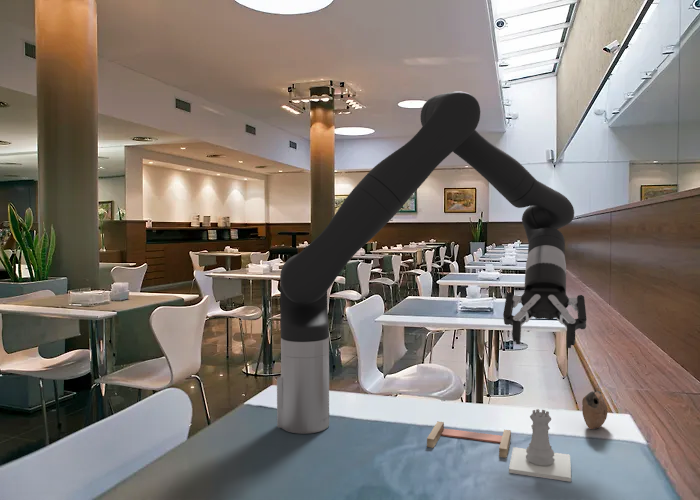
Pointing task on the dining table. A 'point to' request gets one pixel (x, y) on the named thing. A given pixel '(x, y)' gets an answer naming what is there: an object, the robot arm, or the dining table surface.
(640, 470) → the dining table surface
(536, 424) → the rook chess piece
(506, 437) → the wooden u-shaped frame
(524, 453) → the tile
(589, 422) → the oil lamp
